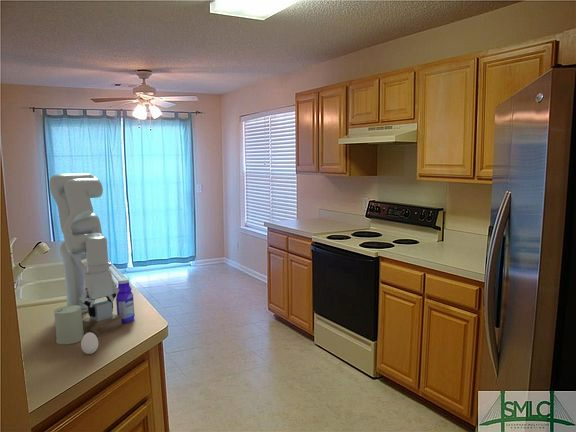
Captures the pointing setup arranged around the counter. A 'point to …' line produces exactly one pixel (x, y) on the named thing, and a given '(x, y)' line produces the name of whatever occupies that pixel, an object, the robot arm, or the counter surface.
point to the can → (69, 324)
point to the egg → (89, 343)
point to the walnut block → (102, 325)
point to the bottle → (125, 301)
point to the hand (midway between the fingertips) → (101, 313)
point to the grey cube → (102, 310)
